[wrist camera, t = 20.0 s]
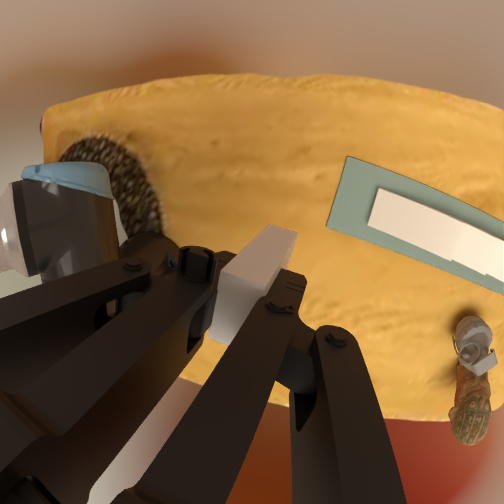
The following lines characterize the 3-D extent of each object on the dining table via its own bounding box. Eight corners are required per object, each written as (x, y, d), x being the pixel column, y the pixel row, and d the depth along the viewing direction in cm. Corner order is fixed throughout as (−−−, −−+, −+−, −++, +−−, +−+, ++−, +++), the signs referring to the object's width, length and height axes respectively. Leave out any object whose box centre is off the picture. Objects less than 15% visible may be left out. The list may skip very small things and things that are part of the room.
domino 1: (367, 225, 37) (450, 261, 31) (378, 188, 35) (465, 223, 29) (370, 223, 38) (450, 258, 33) (381, 188, 36) (463, 222, 31)
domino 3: (447, 254, 34) (515, 288, 29) (459, 220, 33) (528, 254, 27) (446, 252, 36) (512, 284, 30) (458, 218, 34) (525, 252, 28)
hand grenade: (474, 300, 37) (500, 338, 27) (484, 326, 37) (507, 365, 27) (441, 321, 39) (459, 364, 29) (452, 346, 40) (469, 389, 30)
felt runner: (326, 226, 41) (326, 227, 40) (347, 156, 37) (347, 156, 36) (504, 294, 35) (505, 296, 34) (528, 237, 31) (530, 238, 30)
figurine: (486, 348, 38) (515, 406, 24) (473, 383, 40) (492, 442, 27) (446, 350, 40) (467, 414, 27) (434, 386, 43) (447, 450, 29)
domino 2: (408, 239, 36) (485, 275, 30) (420, 203, 34) (499, 239, 28) (409, 237, 37) (483, 271, 32) (421, 203, 35) (496, 237, 30)
